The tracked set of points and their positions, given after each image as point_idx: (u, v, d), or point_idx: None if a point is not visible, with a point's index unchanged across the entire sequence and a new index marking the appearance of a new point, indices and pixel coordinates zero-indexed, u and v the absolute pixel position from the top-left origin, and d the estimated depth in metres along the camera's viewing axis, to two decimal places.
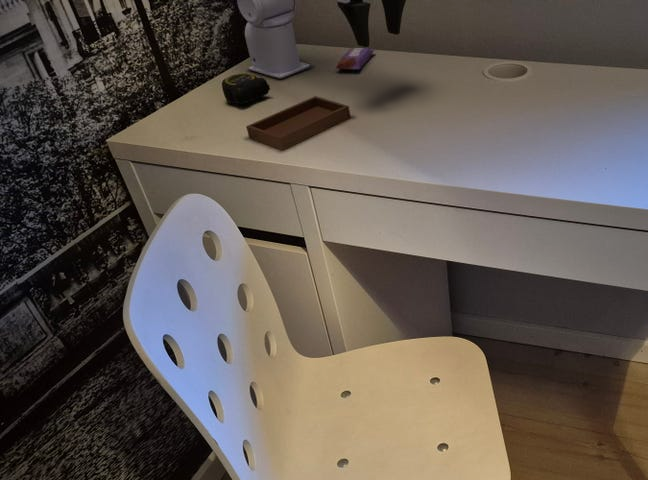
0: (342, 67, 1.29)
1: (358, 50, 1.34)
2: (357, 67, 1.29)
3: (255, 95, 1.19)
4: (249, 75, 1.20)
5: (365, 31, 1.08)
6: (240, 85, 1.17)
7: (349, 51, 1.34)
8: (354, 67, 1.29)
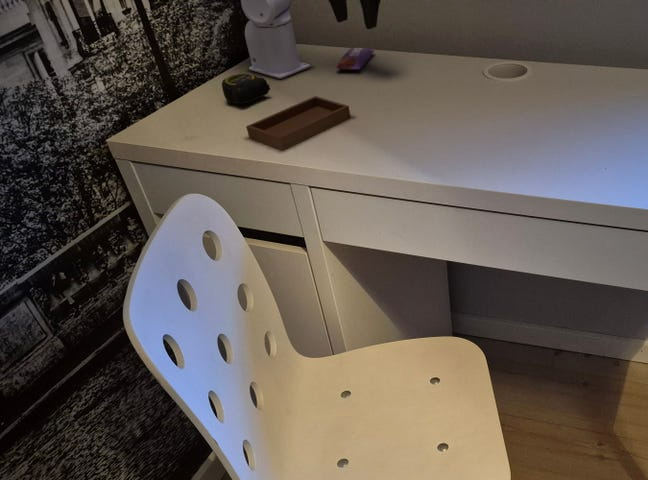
0: (342, 67, 1.29)
1: (358, 50, 1.34)
2: (357, 67, 1.29)
3: (255, 95, 1.19)
4: (249, 75, 1.20)
5: (377, 10, 1.21)
6: (240, 85, 1.17)
7: (349, 51, 1.34)
8: (354, 67, 1.29)
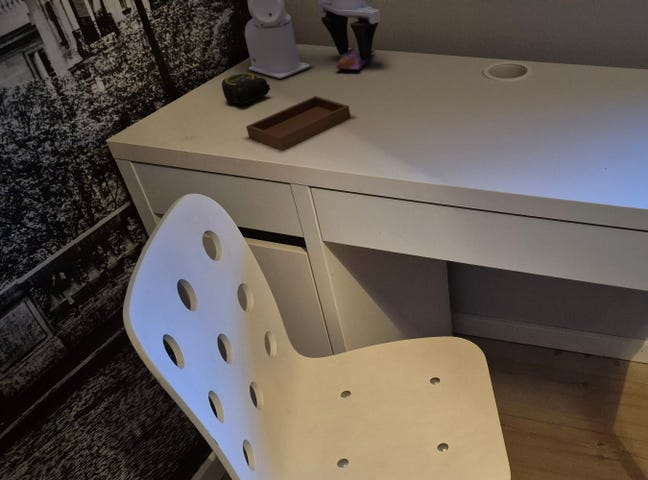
0: (342, 67, 1.29)
1: (358, 50, 1.34)
2: (357, 67, 1.29)
3: (255, 95, 1.19)
4: (249, 75, 1.20)
5: (371, 43, 1.30)
6: (240, 85, 1.17)
7: (349, 51, 1.34)
8: (354, 67, 1.29)
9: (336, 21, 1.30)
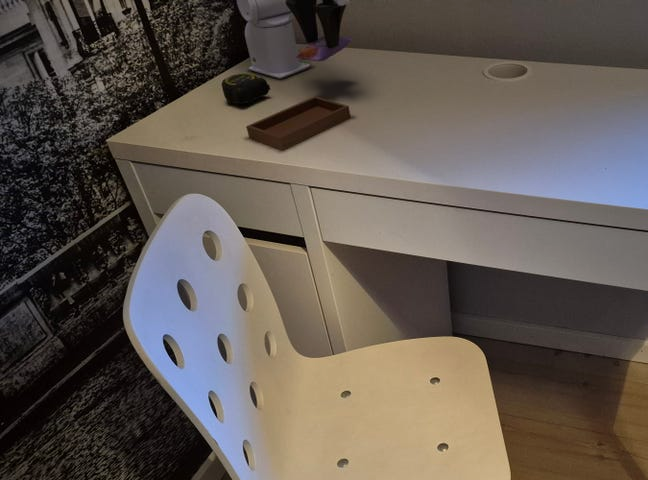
0: (302, 57, 1.14)
1: None
2: (317, 58, 1.13)
3: (255, 95, 1.19)
4: (249, 75, 1.20)
5: None
6: (240, 85, 1.17)
7: (320, 39, 1.18)
8: (315, 57, 1.14)
9: (303, 4, 1.14)
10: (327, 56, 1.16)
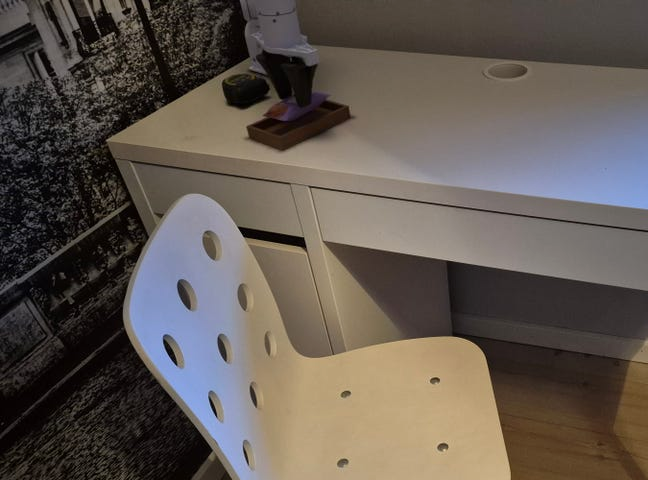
0: (270, 115, 1.06)
1: None
2: (285, 118, 1.05)
3: (255, 95, 1.19)
4: (249, 75, 1.20)
5: (311, 87, 1.06)
6: (240, 85, 1.17)
7: None
8: (282, 117, 1.05)
9: (274, 60, 1.05)
10: (298, 115, 1.07)
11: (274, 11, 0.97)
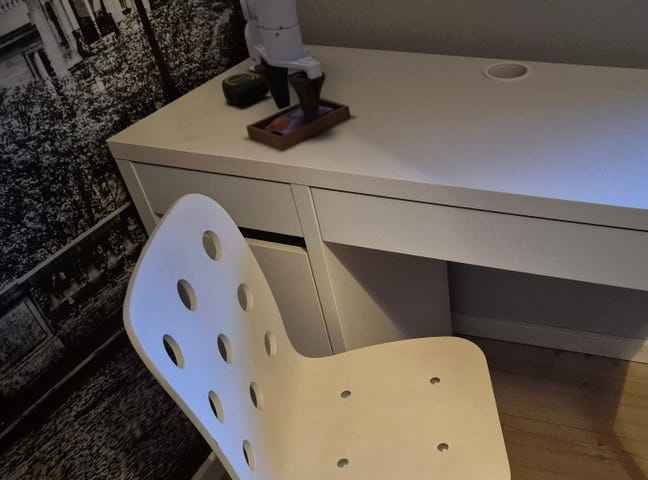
0: (273, 129, 1.08)
1: None
2: (288, 131, 1.06)
3: (255, 95, 1.19)
4: (249, 75, 1.20)
5: (318, 100, 1.07)
6: (240, 85, 1.17)
7: (297, 108, 1.11)
8: (285, 131, 1.07)
9: (272, 70, 1.07)
10: None
11: (277, 25, 0.98)
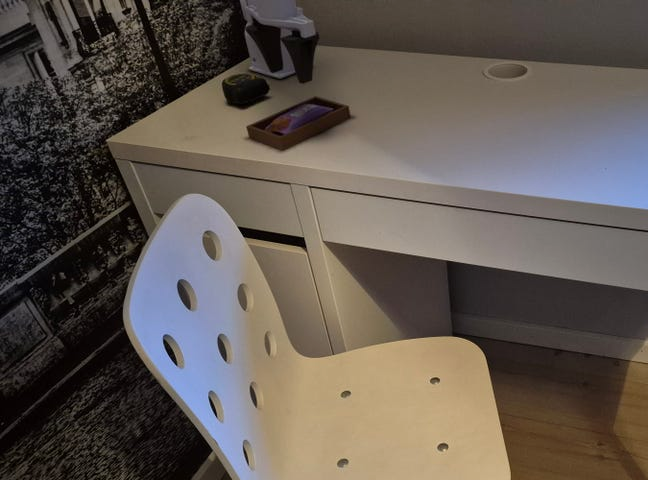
0: (273, 129, 1.08)
1: (308, 109, 1.11)
2: (288, 131, 1.06)
3: (255, 95, 1.19)
4: (249, 75, 1.20)
5: (312, 62, 1.03)
6: (240, 85, 1.17)
7: (297, 108, 1.11)
8: (285, 131, 1.07)
9: (264, 31, 1.04)
10: None
11: None
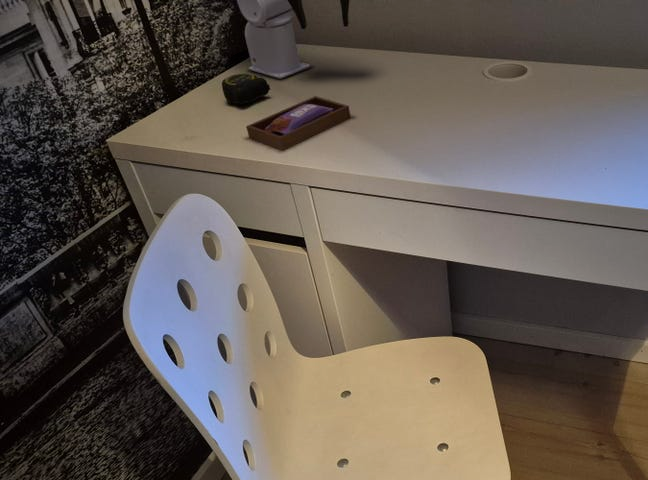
0: (273, 129, 1.08)
1: (308, 109, 1.11)
2: (288, 131, 1.06)
3: (255, 95, 1.19)
4: (249, 75, 1.20)
5: None
6: (240, 85, 1.17)
7: (297, 108, 1.11)
8: (285, 131, 1.07)
9: None
10: None
11: None
